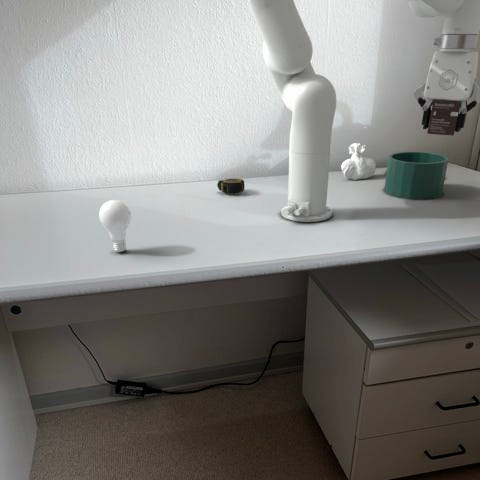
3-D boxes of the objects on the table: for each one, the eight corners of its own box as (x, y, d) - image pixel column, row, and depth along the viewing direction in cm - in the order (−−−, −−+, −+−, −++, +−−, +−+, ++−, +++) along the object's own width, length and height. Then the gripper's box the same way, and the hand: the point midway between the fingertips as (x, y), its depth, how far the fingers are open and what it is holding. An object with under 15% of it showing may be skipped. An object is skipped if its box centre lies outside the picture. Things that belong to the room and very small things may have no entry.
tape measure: (238, 189, 147) (238, 176, 145) (248, 194, 141) (248, 181, 139) (217, 191, 144) (216, 178, 143) (226, 197, 139) (225, 184, 137)
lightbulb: (137, 246, 107) (131, 195, 102) (133, 257, 102) (126, 204, 96) (108, 246, 107) (100, 196, 102) (102, 258, 102) (93, 205, 96)
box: (426, 134, 117) (432, 100, 114) (428, 130, 122) (434, 98, 118) (453, 136, 115) (461, 101, 112) (454, 132, 120) (461, 99, 116)
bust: (371, 182, 159) (362, 150, 160) (384, 171, 152) (375, 137, 153) (338, 186, 156) (330, 153, 157) (349, 175, 148) (340, 140, 150)
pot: (434, 202, 131) (441, 166, 127) (376, 194, 139) (380, 159, 134) (448, 189, 143) (454, 154, 138) (393, 182, 150) (398, 149, 146)
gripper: (414, 43, 111) (400, 128, 120) (498, 44, 103) (477, 135, 111) (422, 43, 116) (409, 124, 125) (503, 44, 108) (483, 131, 117)
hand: (441, 129), depth 118 cm, fingers closed on box, 6 cm apart
